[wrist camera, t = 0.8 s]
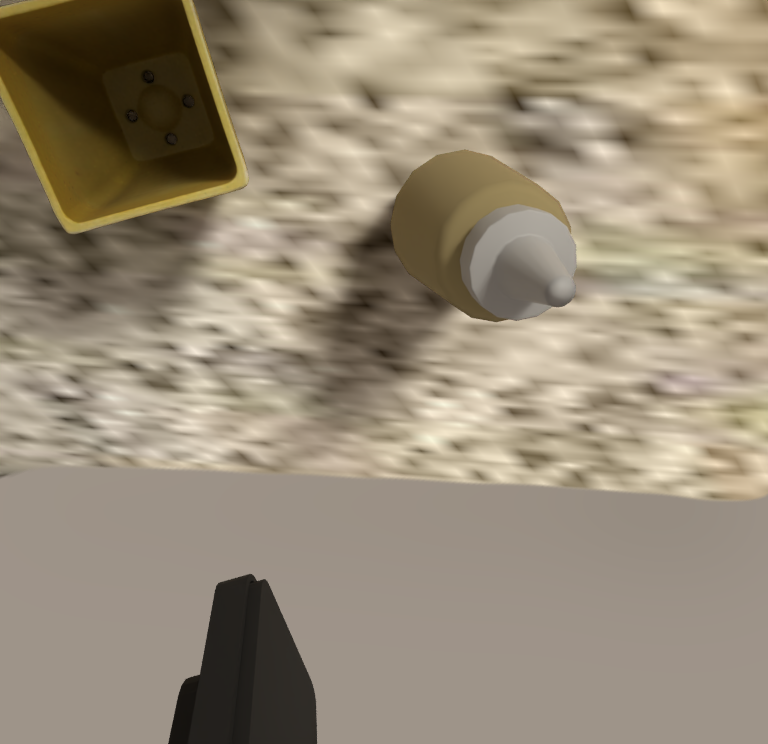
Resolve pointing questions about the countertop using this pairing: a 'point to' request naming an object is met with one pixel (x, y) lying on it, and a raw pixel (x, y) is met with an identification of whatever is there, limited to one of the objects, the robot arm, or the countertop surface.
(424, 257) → the squeeze bottle
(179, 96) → the flower pot
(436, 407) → the countertop surface
